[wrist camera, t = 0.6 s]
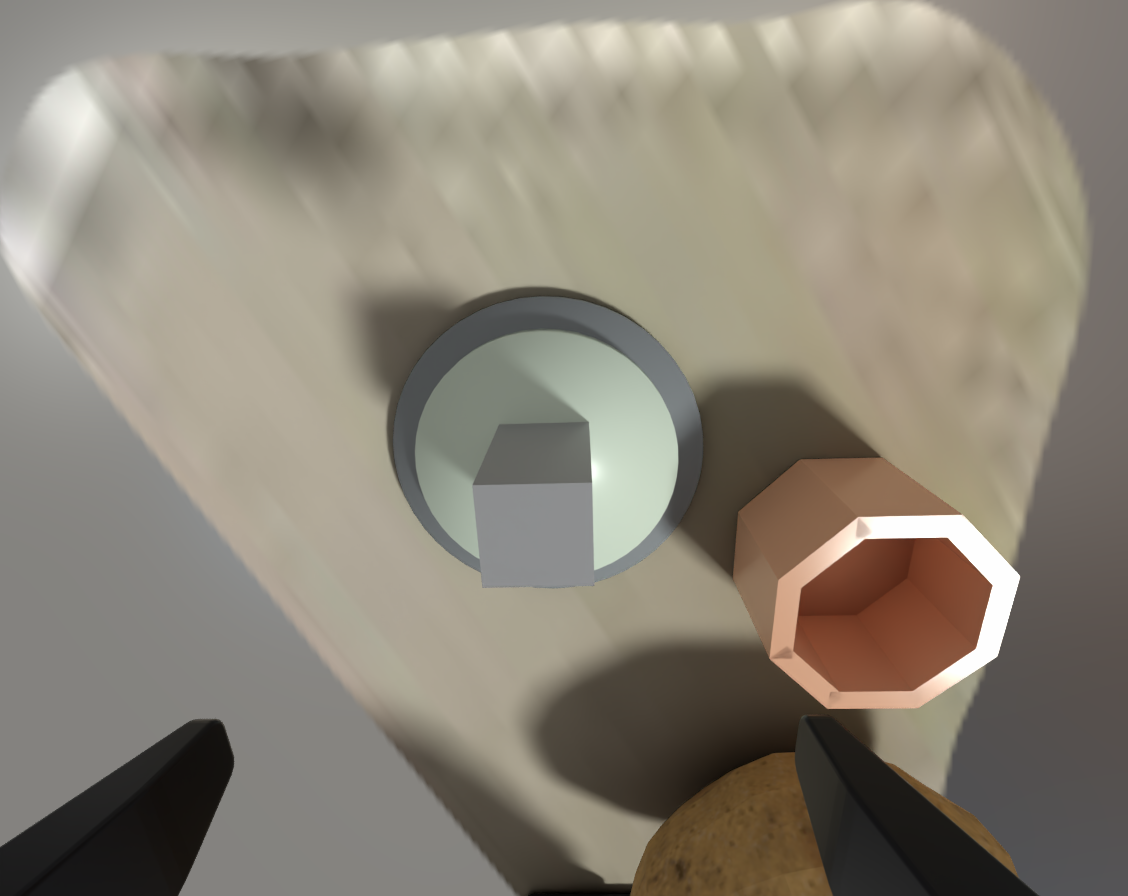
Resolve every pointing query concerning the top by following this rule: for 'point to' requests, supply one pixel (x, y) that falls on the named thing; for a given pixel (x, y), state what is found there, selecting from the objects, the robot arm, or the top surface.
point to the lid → (546, 457)
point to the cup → (869, 584)
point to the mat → (571, 318)
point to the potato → (757, 837)
